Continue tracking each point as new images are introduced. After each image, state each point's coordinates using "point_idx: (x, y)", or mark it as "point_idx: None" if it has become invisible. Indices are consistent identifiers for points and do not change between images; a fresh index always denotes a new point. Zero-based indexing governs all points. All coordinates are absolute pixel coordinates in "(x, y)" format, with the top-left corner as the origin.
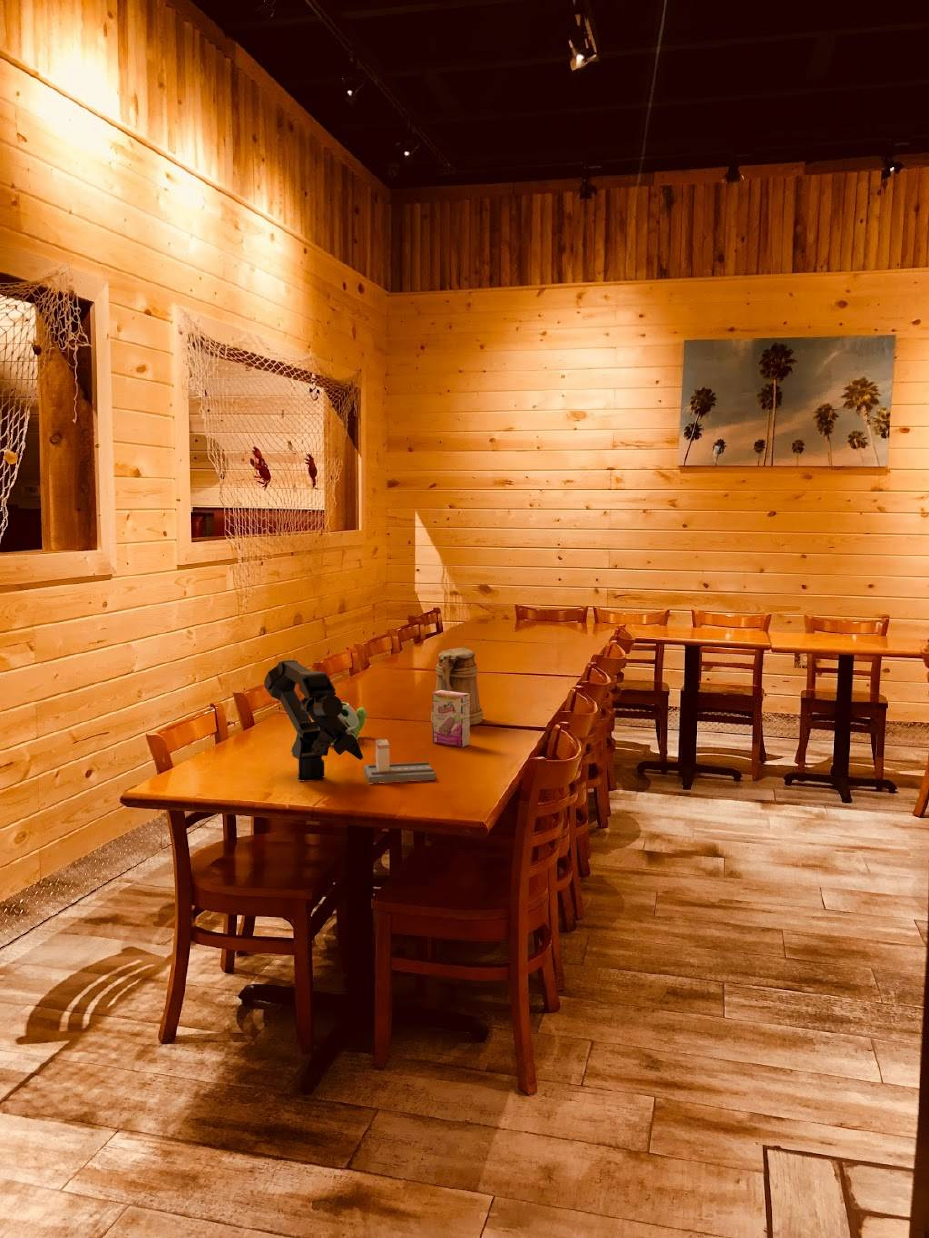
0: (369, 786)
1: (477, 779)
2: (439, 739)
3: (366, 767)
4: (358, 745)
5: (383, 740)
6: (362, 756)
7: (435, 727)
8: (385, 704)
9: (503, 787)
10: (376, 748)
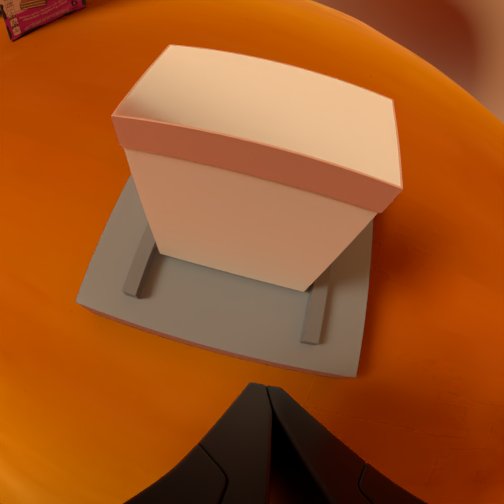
0: (373, 384)
1: (369, 55)
2: (26, 23)
3: (127, 310)
4: (390, 484)
5: (190, 67)
6: (287, 397)
7: (10, 7)
8: None
9: (431, 66)
10: (192, 184)
